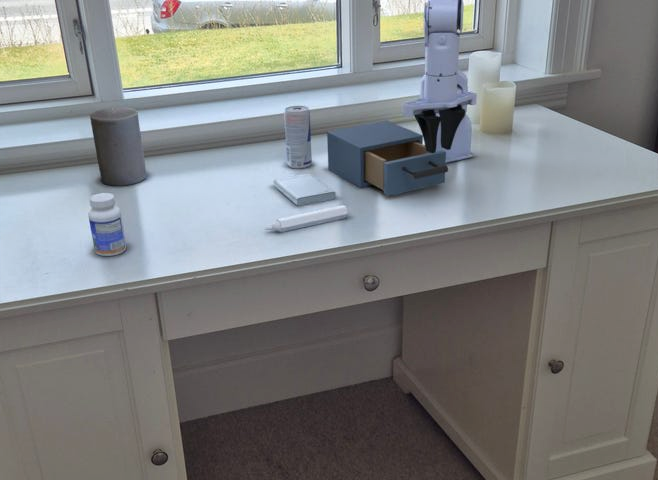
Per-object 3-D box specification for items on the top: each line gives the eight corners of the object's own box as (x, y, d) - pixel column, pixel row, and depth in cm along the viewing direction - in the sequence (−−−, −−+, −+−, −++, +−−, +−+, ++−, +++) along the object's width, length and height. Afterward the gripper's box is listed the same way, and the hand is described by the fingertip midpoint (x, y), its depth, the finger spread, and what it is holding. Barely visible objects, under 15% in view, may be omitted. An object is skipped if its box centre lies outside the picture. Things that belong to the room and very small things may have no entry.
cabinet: (421, 174, 171) (422, 135, 166) (360, 187, 165) (360, 147, 161) (386, 157, 181) (387, 120, 177) (328, 169, 175) (327, 131, 171)
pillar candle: (91, 183, 173) (78, 111, 165) (118, 169, 181) (106, 99, 173) (131, 188, 170) (119, 114, 162) (156, 173, 177) (146, 102, 170)
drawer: (460, 190, 159) (462, 158, 156) (402, 204, 154) (402, 171, 151) (409, 166, 173) (410, 136, 169) (354, 178, 167) (353, 147, 164)
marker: (264, 237, 147) (344, 219, 153) (268, 235, 145) (348, 216, 151) (260, 223, 147) (340, 205, 152) (264, 221, 145) (345, 202, 150)
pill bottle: (97, 245, 145) (87, 192, 140) (128, 243, 145) (119, 190, 140) (92, 258, 140) (82, 203, 135) (125, 255, 140) (115, 201, 135)
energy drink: (313, 160, 181) (310, 105, 174) (310, 168, 176) (308, 112, 170) (288, 161, 181) (285, 105, 175) (285, 168, 177) (282, 112, 170)
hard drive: (335, 191, 159) (310, 172, 169) (296, 198, 157) (273, 178, 166) (336, 199, 160) (311, 180, 170) (296, 206, 158) (273, 186, 167)
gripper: (419, 83, 138) (417, 162, 145) (489, 71, 143) (484, 148, 150) (396, 75, 143) (395, 152, 150) (464, 64, 148) (460, 139, 155)
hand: (438, 150), depth 150 cm, fingers open, 3 cm apart
